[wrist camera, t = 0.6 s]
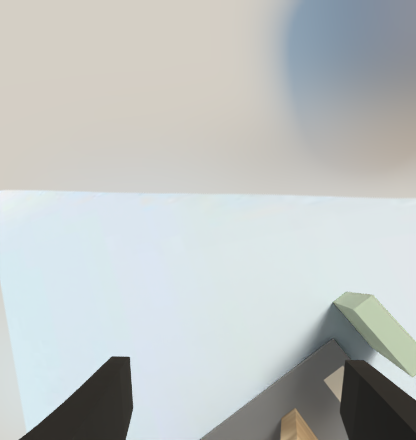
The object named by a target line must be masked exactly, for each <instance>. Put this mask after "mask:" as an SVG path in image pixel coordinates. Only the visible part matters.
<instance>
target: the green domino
mask: <svg viewBox="0 0 416 440" xmlns="http://www.w3.org/2000/svg"><path fill="white" fill-rule="evenodd" d="M333 303H334V304H335V305H336V306H337V308H338V309H339V310H340V311H341V312H342V313H343V315H344V316H345V317H346V318H347V319H348V320H349V322H350V323H351V324H352V325H353V326H354V327H355V329H356V330H357V331H358V332H359V333H360V334H361V336H362V337H363V338H364V339H365V340H366V341H367V343H368V344H369V345H370V346H371V347H372V348H373V349H375V350H376V351H377V352H379V353H380V354H381V355H383V356H384V357H386V358H387V359H388V360H390V361H391V362H392V363H394V364H395V365H396V366H398V367H399V368H400V369H402V370H403V371H405V372H406V373H407V374H409V375H410V376H411V377H414V376H415V375H416V342H415V341H414V339H413V338H412V337H411V336H410V335H409V334H408V333H407V332H406V331H405V330H404V329H403V327H402V326H401V325H400V324H399V323H398V322H397V321H396V320H395V319H394V318H393V316H392V315H391V314H390V313H389V312H388V311H387V310H386V309H385V308H384V307H383V305H382V304H381V303H380V302H379V301H378V300H377V299H376V298H375V297H374V296H373V295H370V294H361V293H352V292H345V293H344V294H343V295H341V296H340V297H339V298H337V299H336V300H335V301H333Z"/></svg>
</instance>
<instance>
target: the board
mask: <svg viewBox="0 0 416 440" xmlns="http://www.w3.org/2000/svg"><path fill="white" fill-rule="evenodd" d="M345 360H351V359H350V358H349V357H348V356H347V354H346V353H345V352H344V351H343V350H342V348H341V347H340V346H339V345H338V343H337V342H336V341H335V340H334V339H331V340H330V341H329V342H327V343H326V344H325V345H323V346H322V347H321V348H319V349H318V350H317V351H315V352H314V353H313V354H311V355H310V356H309V357H308V358H306V359H305V360H304V361H302V362H301V363H300V364H298V365H297V366H296V367H294V368H293V369H292V370H290V371H289V372H288V373H287V374H285V375H284V376H283V377H281V378H280V379H279V380H277V381H276V382H275V383H273V384H272V385H271V386H269V387H268V388H267V389H266V390H264V391H263V392H262V393H260V394H259V395H258V396H256V397H255V398H254V399H252V400H251V401H250V402H248V403H247V404H246V405H245V406H243V407H242V408H241V409H239V410H238V411H237V412H235V413H234V414H233V415H231V416H230V417H229V418H227V419H226V420H225V421H223V422H222V423H221V424H220V425H218V426H217V427H216V428H214V429H213V430H212V431H210V432H209V433H208V434H206V435H205V436H204V437H202V438H201V439H200V440H280V439H281V418H282V417H283V416H285V415H286V414H287V413H289V412H290V411H291V410H293V409H294V408H296V409H297V411H298V412H299V414H300V415H301V416H302V418H303V419H304V421H305V422H306V423H307V425H308V426H309V427H310V429H311V430H312V432H313V433H314V434H315V436H316V437H317V439H318V440H349V439H348V436H347V433H346V430H345V427H344V424H343V421H342V418H341V415H340V403H341V394H342V385H343V375H344V366H345Z"/></svg>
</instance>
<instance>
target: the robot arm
mask: <svg viewBox="0 0 416 440" xmlns="http://www.w3.org/2000/svg"><path fill="white" fill-rule="evenodd" d="M132 411H133V399H132V384H131V369H130V357H111V358H110V359H109V360H108V361H107V362H106V363H104V364H103V365H102V366H101V367H100V368H99V369H98V370H97V371H96V372H95V373H94V374H93V375H92V376H91V377H90V378H89V379H88V380H87V381H86V382H85V383H84V384H83V385H82V386H81V387H80V388H79V389H78V390H76V391H75V392H74V393H73V394H72V395H71V396H70V397H69V398H68V399H67V400H66V401H65V402H64V403H62V404H61V405H60V406H59V407H58V408H57V409H56V410H54V411H53V412H52V413H51V414H50V415H49V416H47V417H46V418H45V419H44V420H43V421H42V422H40V423H39V424H38V425H37V426H36V427H34V428H33V429H32V430H31V431H29V432H28V433H27V434H26V435H24V436H23V437H22V438H21V439H19V440H126V436H127V432H128V428H129V424H130V419H131V415H132ZM340 415H341V418H342V421H343V424H344V427H345V430H346V433H347V436H348V439H349V440H416V400H415V399H413V398H412V397H411V396H409V395H408V394H407V393H405V392H404V391H403V390H402V389H400V388H399V387H398V386H397V385H395V384H394V383H393V382H391V381H390V380H389V379H388V378H386V377H385V376H384V375H383V374H381V373H380V372H379V371H377V370H376V369H375V368H374V367H372V366H371V365H370V364H368V363H367V362H365V361H364V360H345V366H344V375H343V385H342V394H341V403H340Z"/></svg>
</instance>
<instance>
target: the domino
mask: <svg viewBox="0 0 416 440" xmlns="http://www.w3.org/2000/svg"><path fill="white" fill-rule="evenodd" d="M280 440H318V439H317V437H316V436H315V434H314V433H313V432H312V430H311V429H310V427H309V426H308V425H307V423H306V422H305V421H304V419H303V418H302V416H301V415H300V414H299V412H298V411H297V409H296V408H294V409H293V410H291V411H290V412H289V413H287V414H286V415H285V416H283V417H282V418H281V439H280Z"/></svg>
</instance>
